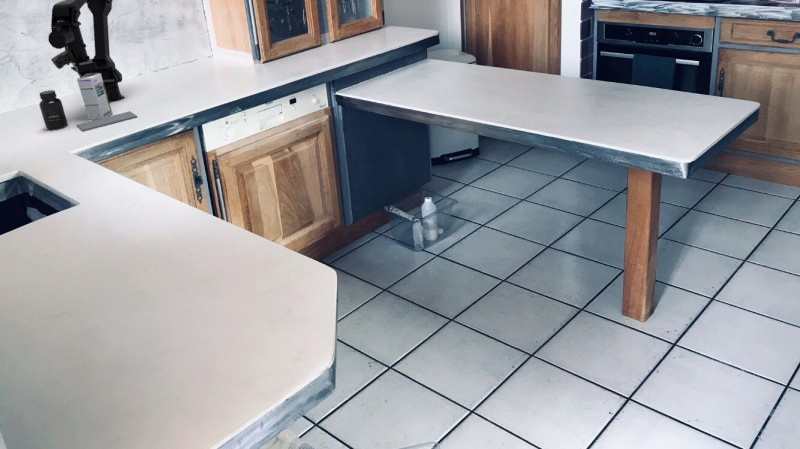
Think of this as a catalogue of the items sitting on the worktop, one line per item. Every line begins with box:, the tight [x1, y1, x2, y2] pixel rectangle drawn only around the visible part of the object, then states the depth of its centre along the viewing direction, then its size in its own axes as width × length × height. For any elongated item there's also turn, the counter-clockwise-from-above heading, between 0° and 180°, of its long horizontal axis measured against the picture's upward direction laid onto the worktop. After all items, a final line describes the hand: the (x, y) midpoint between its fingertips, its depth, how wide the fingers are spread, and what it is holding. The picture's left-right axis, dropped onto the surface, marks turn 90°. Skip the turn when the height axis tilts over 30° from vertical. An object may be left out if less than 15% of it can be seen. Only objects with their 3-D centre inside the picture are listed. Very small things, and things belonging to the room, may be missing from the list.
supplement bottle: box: [39, 89, 69, 131], centre depth 242 cm, size 7×7×12 cm
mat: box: [76, 110, 138, 132], centre depth 244 cm, size 8×18×1 cm, turn 125°
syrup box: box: [76, 73, 113, 121], centre depth 247 cm, size 6×6×14 cm
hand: (87, 87), depth 252 cm, fingers closed
